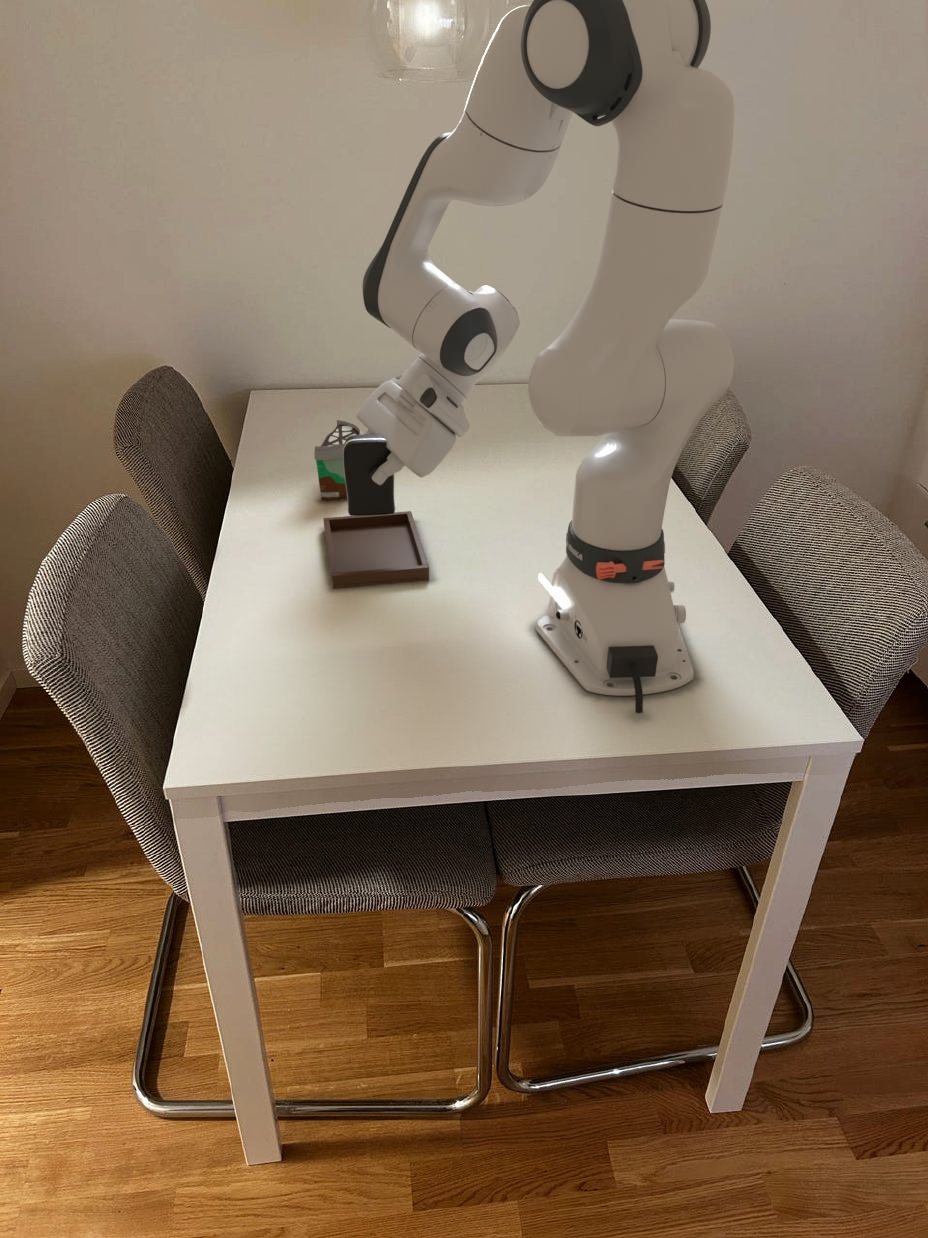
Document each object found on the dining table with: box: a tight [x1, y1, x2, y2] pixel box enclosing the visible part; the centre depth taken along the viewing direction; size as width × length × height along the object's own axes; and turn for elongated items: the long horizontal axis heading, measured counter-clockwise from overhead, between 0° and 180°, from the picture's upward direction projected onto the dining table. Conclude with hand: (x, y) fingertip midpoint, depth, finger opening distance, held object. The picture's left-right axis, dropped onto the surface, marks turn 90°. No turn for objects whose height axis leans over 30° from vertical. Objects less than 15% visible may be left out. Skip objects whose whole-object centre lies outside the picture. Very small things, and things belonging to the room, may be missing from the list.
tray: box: [323, 510, 430, 590], centre depth 139 cm, size 18×14×2 cm
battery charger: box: [343, 433, 396, 516], centre depth 132 cm, size 7×4×11 cm, turn 95°
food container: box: [314, 419, 363, 502], centre depth 154 cm, size 12×6×10 cm, turn 168°
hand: (366, 472), depth 132 cm, fingers closed on battery charger, 5 cm apart
